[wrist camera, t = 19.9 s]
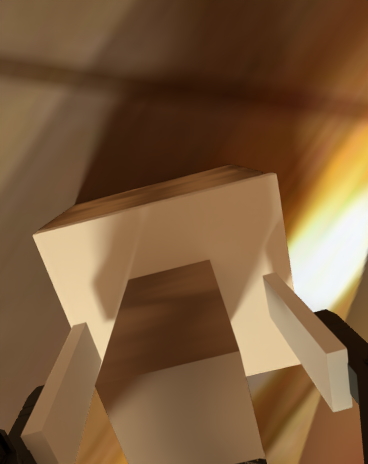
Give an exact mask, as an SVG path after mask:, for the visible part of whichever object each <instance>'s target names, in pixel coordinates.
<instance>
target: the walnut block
mask: <svg viewBox="0 0 368 464" xmlns="http://www.w3.org/2000/svg"><path fill="white" fill-rule="evenodd" d="M95 387H96V390H97V392H98V394H99V396H100V399H101V401H102V403H103V406H104V408H105V410H106V413H107V415H108V417H109V420H110V422H111V424H112V427H113V429H114V431H115V434H116V436H117V438H118V441H119V443H120V445H121V448H122V450H123V452H124V455H125V457H126V459H127V462H128V464H237V463H241V462H246V461H250V460H255V459H259V458H263V457H265V456H264V452H263V448H262V443H261V439H260V435H259V430H258V426H257V422H256V418H255V413H254V409H253V405H252V400H251V396H250V392H249V388H248V383H247V379H246V375H245V371H244V366H243V362H242V358H241V353H240V350H239V347H238V344H237V341H236V338H235V335H234V332H233V329H232V326H231V322H230V319H229V316H228V313H227V310H226V307H225V304H224V301H223V298H222V295H221V292H220V289H219V286H218V283H217V280H216V277H215V274H214V271H213V268H212V265H211V262H210V259H209V260H205V261H201V262H197V263H193V264H189V265H185V266H181V267H177V268H173V269H169V270H165V271H161V272H157V273H153V274H149V275H145V276H141V277H137V278H133V279H129V280H128V282H127V285H126V288H125V291H124V295H123V298H122V301H121V304H120V307H119V310H118V314H117V317H116V320H115V323H114V326H113V329H112V333H111V336H110V339H109V342H108V345H107V348H106V352H105V355H104V358H103V361H102V364H101V367H100V371H99V374H98V377H97V380H96V383H95Z"/></svg>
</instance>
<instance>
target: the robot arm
mask: <svg viewBox="0 0 368 464" xmlns="http://www.w3.org/2000/svg"><path fill="white" fill-rule="evenodd" d="M262 276H263V282H264V287H265V293H266V298H267V304H268V309H269V315H270V317H271V319H272V320H273V322H274V323H275V325H276V326H277V328H278V329H279V331H280V332H281V334H282V335H283V337H284V339H285V340H286V342H287V343H288V345H289V346H290V348H291V349H292V351H293V352H294V354H295V355H296V357H297V358H298V360H299V361H300V363H301V364H302V366H303V367H304V369H305V370H306V372H307V373H308V375H309V376H310V378H311V379H312V381H313V382H314V384H315V385H316V387H317V388H318V390H319V391H320V393H321V394H322V396H323V397H324V399H325V401H326V402H327V403H328V405H329V407H330V408H331V409H332V411H333V412H336V411H340V410H344V409H347V408H351V407H352V397H353V398H354V399H355V401H356V402H357V403H358V404H359V409H360V420H361V432H362V443H363V455H364V464H368V343H367V342H366V341H365V340H364V339H363V338H361V337H360V336H359V335H358V334H357V333H356V332H355V331H354V330H353V329H352V328H350V326H348V325H347V323H345V322H344V321H343V320H342V319H341V318H340V317H339V316H338V315H337V314H335V313H333V312H331V311H329V310H326V309H325V310H321V311H317V312H314V313H313V312H312V311H311V310H310V309H309V308H308V306H307V305H306V304H305V303H304V302H303V301H302V300H301V299H300V298H299V297H298V296H297V295H296V294H295V293H294V292H293V290H292V289H291V288H290V287H289V286H288V285H287V284H286V283H285V282H284V281H283V280H282V279H281V278H280V277H279V276H278V274H277V273H276V272H274V273H270V274H266V275H262ZM101 362H102V360H101V358H100V355H99V353H98V350H97V348H96V345H95V343H94V340H93V338H92V335H91V333H90V330H89V328H88V325H87V323H86V322H85V323H81V324H77V325H73V327H72V329H71V331H70V333H69V335H68V337H67V339H66V341H65V344H64V346H63V348H62V350H61V352H60V354H59V356H58V358H57V360H56V363H55V365H54V367H53V369H52V371H51V373H50V375H49V377H48V379H47V381H46V384H45V385H43V386H39V387H37V388H36V389H35V390H34V391H33V392H32V393H31V394H30V395H29V397H28V398H27V400H26V402H25V404H24V406H23V409H22V410H21V411H20V413H19V415H18V418H17V419H16V421H15V423H14V425H13V427H12V429H11V431H10V433H9V435H7V433H6V432H5V430H1V429H0V464H75V461H76V457H77V453H78V450H79V446H80V442H81V438H82V434H83V431H84V427H85V423H86V419H87V415H88V412H89V408H90V404H91V400H92V396H93V392H94V389H95V383H96V380H97V377H98V373H99V370H100V366H101ZM351 395H352V396H351Z"/></svg>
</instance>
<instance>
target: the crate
mask: <svg viewBox="0 0 368 464" xmlns="http://www.w3.org/2000/svg"><path fill="white" fill-rule="evenodd" d="M260 175H263V172H261V171H257V170H253V169H249V168H245V167H240V166H236V165H232V164H230V165H226V166H223V167H219V168H215V169H211V170H207V171H203V172H199V173H196V174H192V175H188V176H184V177H180V178H176V179H172V180H169V181H165V182H161V183H157V184H153V185H149V186H145V187H142V188H138V189H134V190H130V191H126V192H122V193H118V194H114V195H111V196H107V197H103V198H99V199H95V200H91V201H87V202H84V203H80V204H76V205H73V206H72V207H71V208H69V209H68V210H66V211H65V212H63V213H62V214H60V215H59V216H58V217H56V218H55V219H53V220H52V221H50V222H49V223H47V224H46V225H45V226H43V227H42V228H40V229H39V230H38V231H41V230H45V229H49V228H53V227H57V226H61V225H65V224H69V223H73V222H77V221H81V220H85V219H89V218H93V217H97V216H101V215H105V214H109V213H112V212H116V211H120V210H124V209H128V208H132V207H136V206H140V205H144V204H148V203H152V202H156V201H160V200H164V199H168V198H172V197H176V196H180V195H184V194H188V193H192V192H196V191H200V190H204V189H208V188H212V187H216V186H220V185H224V184H228V183H232V182H236V181H240V180H244V179H248V178H252V177H256V176H260Z"/></svg>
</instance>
